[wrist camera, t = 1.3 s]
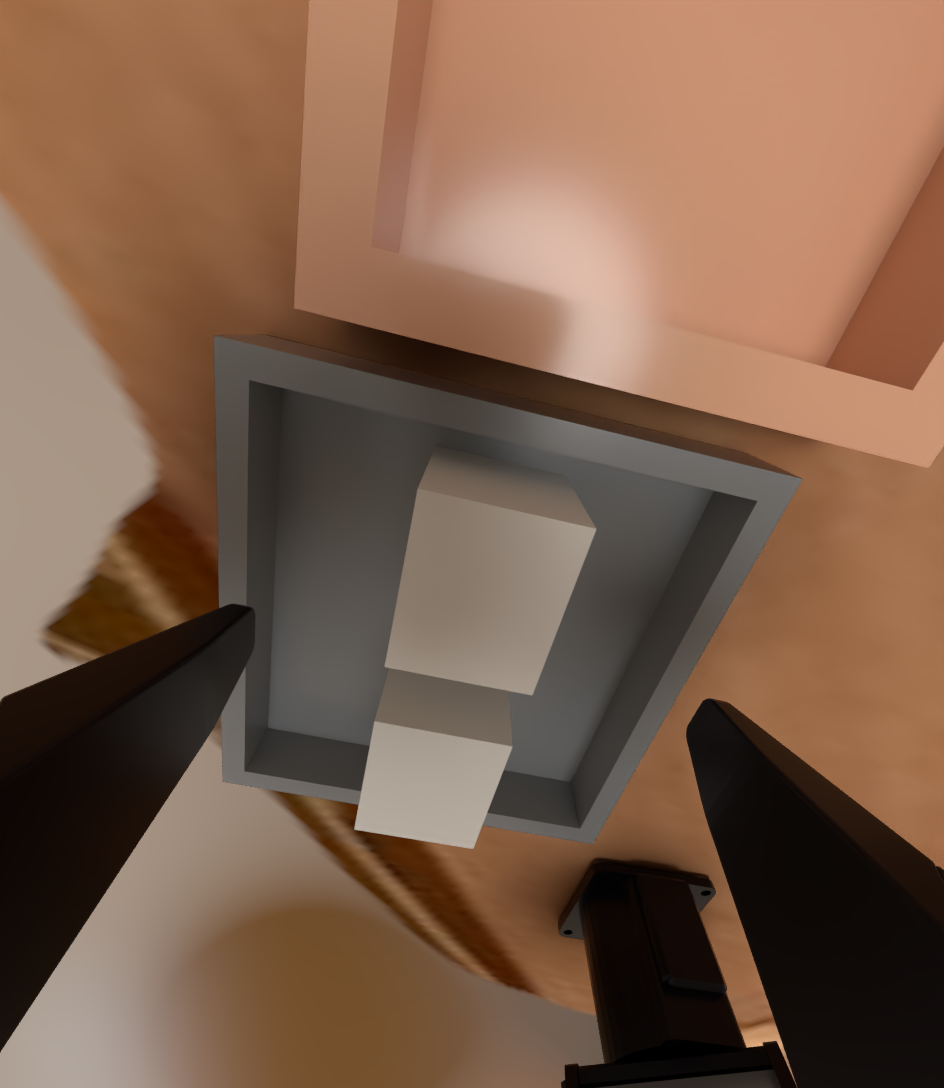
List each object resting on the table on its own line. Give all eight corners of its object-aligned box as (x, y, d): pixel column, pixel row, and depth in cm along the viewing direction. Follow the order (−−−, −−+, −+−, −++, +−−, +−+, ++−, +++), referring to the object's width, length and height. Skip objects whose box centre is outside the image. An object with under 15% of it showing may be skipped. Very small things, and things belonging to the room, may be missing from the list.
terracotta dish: (822, 436, 13) (928, 468, 10) (342, 314, 12) (293, 308, 9) (1157, -152, 8) (1558, -440, 5) (412, -442, 7) (359, -1024, 4)
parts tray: (579, 784, 20) (592, 844, 18) (254, 726, 19) (222, 781, 17) (747, 453, 14) (802, 478, 11) (264, 334, 12) (213, 334, 10)
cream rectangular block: (520, 610, 16) (532, 695, 12) (407, 587, 15) (384, 667, 12) (565, 475, 13) (596, 528, 10) (435, 445, 13) (417, 488, 9)
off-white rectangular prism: (475, 748, 18) (473, 849, 15) (379, 730, 18) (354, 829, 15) (505, 655, 16) (512, 746, 13) (398, 633, 16) (374, 721, 12)
